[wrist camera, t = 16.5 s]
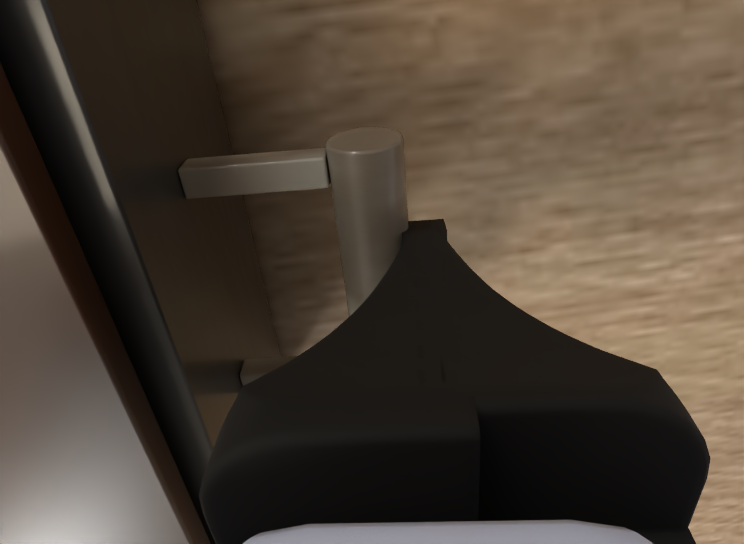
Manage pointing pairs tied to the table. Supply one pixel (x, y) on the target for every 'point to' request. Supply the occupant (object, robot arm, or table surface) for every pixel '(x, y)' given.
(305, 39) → the table surface
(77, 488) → the cabinet
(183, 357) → the drawer
